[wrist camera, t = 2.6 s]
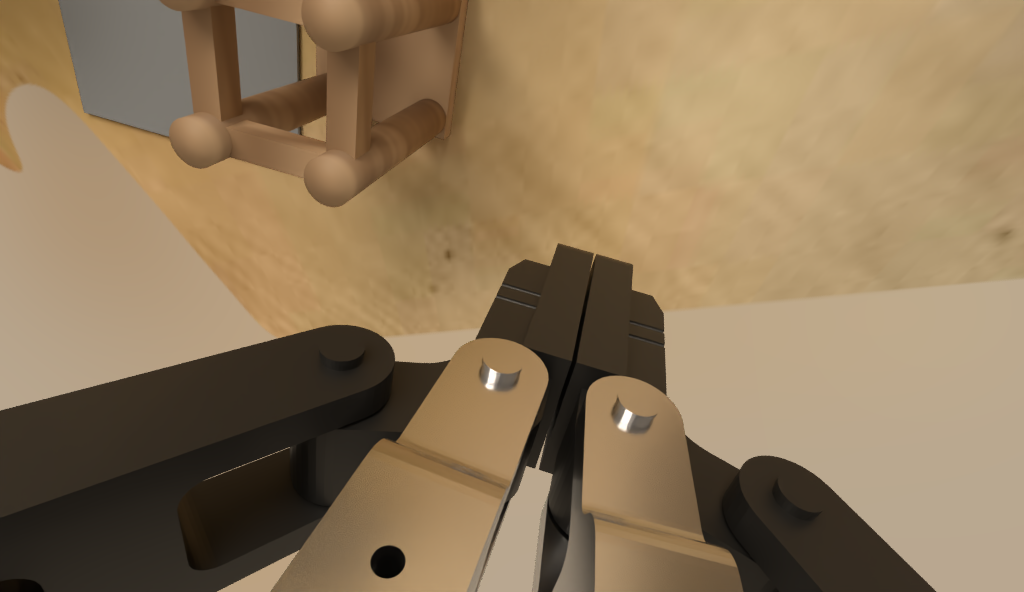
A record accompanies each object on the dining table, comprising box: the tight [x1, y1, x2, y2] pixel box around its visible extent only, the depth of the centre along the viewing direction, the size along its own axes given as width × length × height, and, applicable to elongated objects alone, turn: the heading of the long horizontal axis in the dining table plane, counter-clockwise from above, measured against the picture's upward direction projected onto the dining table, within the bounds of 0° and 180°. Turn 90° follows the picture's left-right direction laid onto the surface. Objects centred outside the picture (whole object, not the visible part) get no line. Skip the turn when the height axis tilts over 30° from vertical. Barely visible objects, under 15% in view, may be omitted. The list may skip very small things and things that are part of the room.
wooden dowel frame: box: [159, 0, 468, 207], centre depth 22 cm, size 7×7×11 cm
